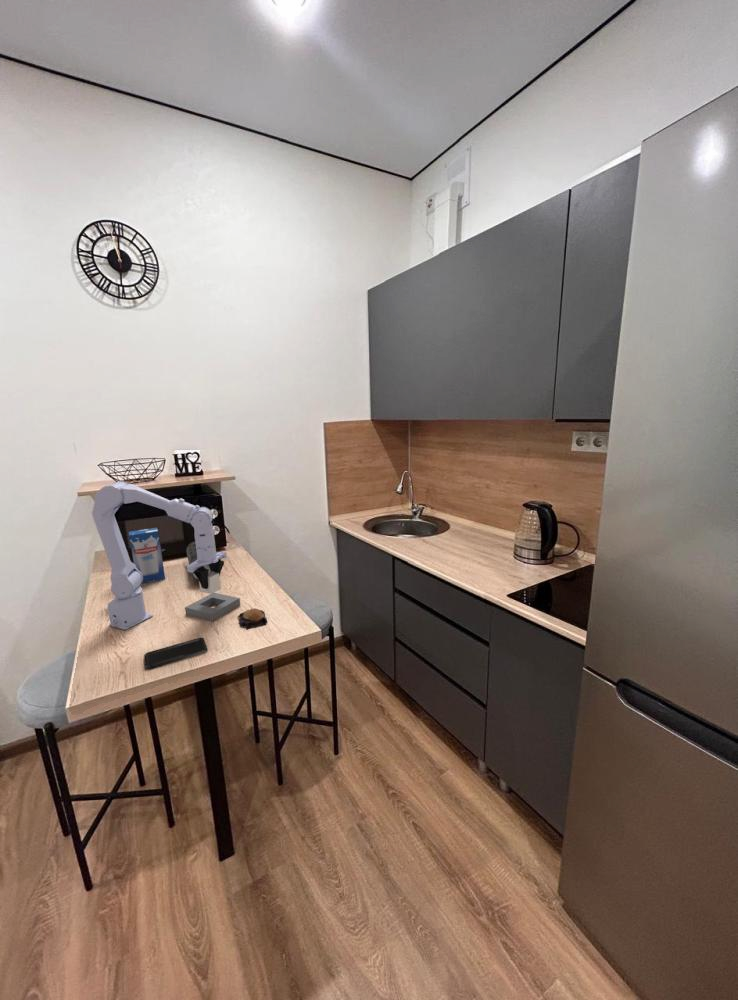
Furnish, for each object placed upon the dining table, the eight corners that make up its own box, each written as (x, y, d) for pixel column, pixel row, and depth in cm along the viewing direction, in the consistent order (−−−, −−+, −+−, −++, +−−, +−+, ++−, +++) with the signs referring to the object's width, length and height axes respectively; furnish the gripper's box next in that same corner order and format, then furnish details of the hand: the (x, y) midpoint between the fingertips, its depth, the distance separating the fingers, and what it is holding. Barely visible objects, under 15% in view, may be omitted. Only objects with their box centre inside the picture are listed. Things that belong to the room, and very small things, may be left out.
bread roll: (235, 618, 128) (234, 607, 127) (262, 611, 132) (261, 601, 131) (242, 633, 119) (241, 622, 118) (270, 625, 123) (269, 614, 122)
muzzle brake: (210, 560, 181) (207, 538, 179) (218, 581, 157) (215, 556, 154) (187, 564, 177) (184, 542, 175) (192, 587, 152) (188, 561, 150)
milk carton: (164, 573, 166) (157, 527, 162) (165, 578, 161) (158, 530, 157) (136, 579, 161) (128, 531, 157) (137, 584, 156) (128, 535, 152)
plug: (211, 593, 129) (209, 575, 128) (200, 591, 131) (198, 573, 130) (221, 589, 132) (218, 571, 131) (210, 586, 135) (207, 569, 133)
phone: (144, 653, 108) (203, 636, 115) (144, 657, 108) (203, 640, 115) (144, 668, 101) (207, 649, 108) (145, 672, 101) (208, 653, 109)
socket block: (212, 621, 125) (211, 614, 125) (185, 614, 130) (184, 607, 130) (240, 604, 136) (239, 598, 135) (214, 599, 141) (213, 592, 140)
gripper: (196, 554, 120) (201, 596, 123) (231, 540, 133) (235, 578, 136) (179, 551, 123) (185, 592, 126) (216, 538, 136) (220, 575, 139)
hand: (210, 585), depth 131 cm, fingers closed on plug, 4 cm apart
